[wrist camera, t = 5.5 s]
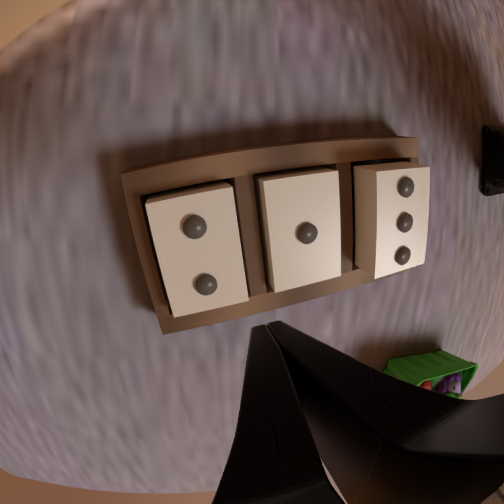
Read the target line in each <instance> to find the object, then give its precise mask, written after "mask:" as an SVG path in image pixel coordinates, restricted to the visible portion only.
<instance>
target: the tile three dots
mask: <svg viewBox="0 0 504 504" xmlns="http://www.w3.org/2000/svg"><path fill="white" fill-rule="evenodd" d="M353 171H354V196H355V265H356V266H358V267H359V268H360V269H362V270H363V271H364V272H366V273H367V274H368V275H370V276H371V277H372V278H374V279H377V278H380V277H383V276H386V275H390V274H393V273H396V272H399V271H402V270H405V269H408V268H411V267H414V266H418V265H421V264H424V260H425V251H426V241H427V229H428V215H429V192H430V167H428V166H424V165H419V164H415V163H410V162H394V163H382V164H371V165H360V166H353Z"/></svg>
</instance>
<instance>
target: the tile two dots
mask: <svg viewBox="0 0 504 504" xmlns="http://www.w3.org/2000/svg"><path fill="white" fill-rule="evenodd" d="M145 205H146V210H147V215H148V219H149V224H150V228H151V232H152V237H153V241H154V245H155V249H156V253H157V257H158V261H159V265H160V269H161V273H162V277H163V280H164V284H165V288H166V291H167V295H168V299H169V302H170V306H171V309H172V312H173V316H174V317H179V316H184V315H189V314H193V313H198V312H202V311H207V310H211V309H216V308H220V307H225V306H229V305H233V304H238V303H242V302H246V301H249V298H248V291H247V285H246V278H245V271H244V264H243V257H242V250H241V243H240V236H239V229H238V222H237V215H236V208H235V201H234V194H233V187H232V186H231V185H230V184H228V183H227V182H226V181H225V180H224V181H218V182H213V183H207V184H202V185H196V186H191V187H186V188H181V189H176V190H171V191H166V192H162V193H157V194H152V195H148V198H147V201H146V204H145Z"/></svg>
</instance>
